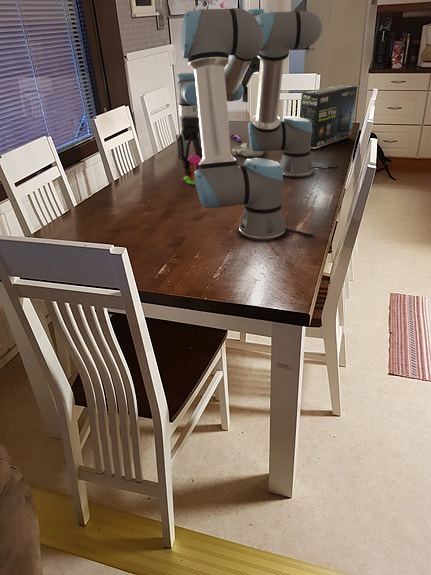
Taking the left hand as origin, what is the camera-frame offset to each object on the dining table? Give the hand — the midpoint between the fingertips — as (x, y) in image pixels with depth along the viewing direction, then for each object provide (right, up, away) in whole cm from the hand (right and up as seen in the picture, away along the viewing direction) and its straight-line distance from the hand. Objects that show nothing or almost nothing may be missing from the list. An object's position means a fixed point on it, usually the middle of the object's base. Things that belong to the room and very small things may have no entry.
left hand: (193, 174), depth 192 cm
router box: (+68, +29, +52) cm, 91 cm away
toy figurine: (0, -2, +1) cm, 3 cm away
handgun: (+19, +37, +68) cm, 80 cm away
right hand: (+28, +41, +24) cm, 55 cm away
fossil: (+27, +20, +39) cm, 51 cm away
